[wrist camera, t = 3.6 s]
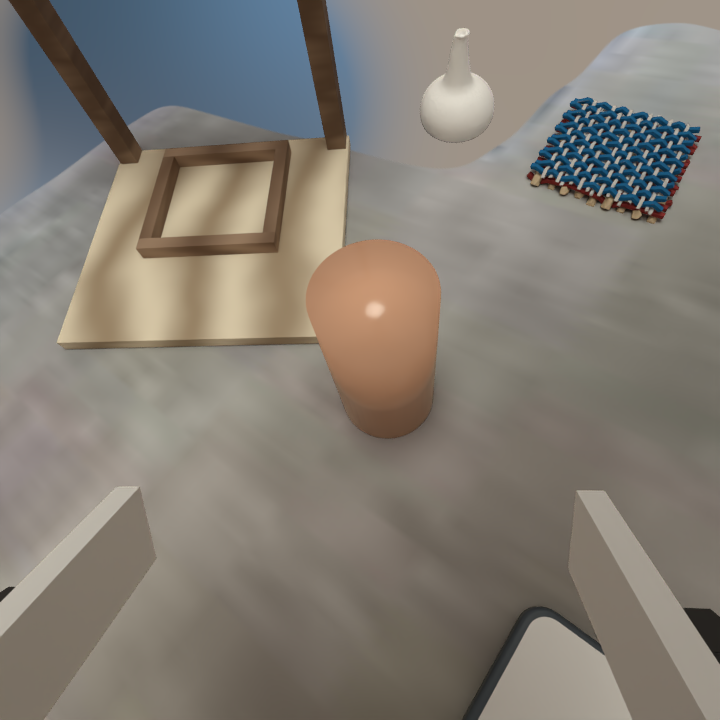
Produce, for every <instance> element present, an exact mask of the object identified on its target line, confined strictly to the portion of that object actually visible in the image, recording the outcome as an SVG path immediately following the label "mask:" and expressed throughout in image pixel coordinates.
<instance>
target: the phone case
mask: <svg viewBox="0 0 720 720" xmlns="http://www.w3.org/2000/svg"><path fill="white" fill-rule="evenodd" d="M462 720H632V718H631V715H630V713H629V711H628V708H627V706H626V704H625V701H624V699H623V697H622V694H621V692H620V690H619V687H618V685H617V682H616V680H615V678H614V675H613V673H612V671H611V668H610V666H609V664H608V661H607V659H606V657H605V654H604V652H603V650H602V647H601V645H600V644H599V643H598V642H597V641H595V640H594V639H592V638H591V637H590V636H588V635H587V634H586V633H584V632H583V631H581V630H580V629H579V628H577V627H576V626H575V625H573V624H572V623H570V622H569V621H568V620H566V619H565V618H564V617H562V616H561V615H559V614H558V613H557V612H555V611H553V610H552V609H549V608H546V607H532V608H529V609H527V610H525V611H524V612H523V613H522V614H521V615H520V616H519V618H518V620H517V621H516V623H515V625H514V627H513V629H512V630H511V632H510V634H509V636H508V638H507V640H506V641H505V643H504V645H503V647H502V649H501V650H500V652H499V654H498V656H497V658H496V659H495V661H494V663H493V665H492V667H491V668H490V670H489V672H488V674H487V676H486V678H485V679H484V681H483V683H482V685H481V687H480V688H479V690H478V692H477V694H476V696H475V697H474V699H473V701H472V703H471V705H470V706H469V708H468V710H467V712H466V714H465V715H464V717H463V719H462Z"/></svg>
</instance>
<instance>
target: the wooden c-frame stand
mask: <svg viewBox="0 0 720 720" xmlns="http://www.w3.org/2000/svg"><path fill="white" fill-rule="evenodd" d="M9 1H10V3H11V4H12V6H13V7H14V9H15V10H16V11H17V13H18V14H19V16H20V17H21V19H22V20H23V21H24V23H25V25H26V26H27V27H28V29H29V30H30V32H31V33H32V35H33V36H34V38H35V39H36V41H37V42H38V44H39V45H40V46H41V48H42V49H43V51H44V52H45V54H46V55H47V56H48V58H49V59H50V61H51V62H52V64H53V65H54V67H55V68H56V70H57V71H58V73H59V74H60V75H61V77H62V78H63V80H64V81H65V83H66V84H67V86H68V87H69V89H70V90H71V91H72V93H73V94H74V96H75V97H76V99H77V100H78V102H79V103H80V105H81V106H82V107H83V109H84V110H85V112H86V113H87V115H88V116H89V117H90V119H91V120H92V122H93V123H94V125H95V126H96V128H97V129H98V130H99V132H100V134H101V135H102V136H103V138H104V139H105V141H106V142H107V144H108V145H109V147H110V148H111V150H112V151H113V153H114V154H115V155H116V157H117V158H118V160H119V161H120V164H119V167H118V170H117V173H116V176H115V179H114V181H113V184H112V187H111V190H110V193H109V196H108V198H107V201H106V204H105V207H104V210H103V213H102V215H101V218H100V221H99V224H98V227H97V230H96V233H95V235H94V238H93V241H92V244H91V247H90V250H89V252H88V255H87V258H86V261H85V264H84V267H83V270H82V272H81V275H80V278H79V281H78V284H77V287H76V289H75V292H74V295H73V298H72V301H71V304H70V306H69V309H68V312H67V315H66V318H65V321H64V324H63V326H62V329H61V332H60V335H59V338H58V341H57V343H58V344H59V345H60V346H62V347H63V348H65V349H91V348H134V347H177V346H221V345H264V344H307V343H319V342H318V339H317V337H316V334H315V332H314V329H313V327H312V324H311V322H310V319H309V316H308V313H307V309H306V291H307V287H308V284H309V281H310V279H311V277H312V275H313V273H314V272H315V270H316V269H317V267H318V266H319V265H320V264H321V263H322V262H323V261H324V260H325V259H326V258H327V257H328V256H330V255H331V254H332V253H334V252H335V251H337V250H339V249H341V248H343V247H345V230H346V213H347V196H348V179H349V161H350V139H349V136H347V135H346V128H345V122H344V115H343V109H342V102H341V96H340V89H339V83H338V77H337V70H336V64H335V57H334V51H333V45H332V38H331V32H330V25H329V20H328V12H327V6H326V0H297V2H298V7H299V12H300V17H301V22H302V26H303V32H304V37H305V41H306V46H307V51H308V56H309V61H310V66H311V71H312V75H313V81H314V86H315V90H316V96H317V100H318V105H319V110H320V115H321V119H322V125H323V130H324V135H325V138H311V139H297V140H282V141H268V142H254V143H240V144H226V145H212V146H198V147H185V148H171V149H158V150H144V151H142V149H141V148H140V146H139V145H138V143H137V141H136V140H135V138H134V137H133V135H132V133H131V132H130V130H129V129H128V127H127V125H126V124H125V122H124V120H123V119H122V117H121V116H120V114H119V112H118V111H117V109H116V108H115V106H114V104H113V103H112V101H111V100H110V98H109V97H108V95H107V93H106V91H105V90H104V88H103V87H102V85H101V83H100V82H99V80H98V79H97V77H96V75H95V74H94V72H93V70H92V69H91V67H90V66H89V64H88V62H87V61H86V59H85V58H84V56H83V54H82V53H81V51H80V50H79V48H78V46H77V45H76V43H75V42H74V40H73V38H72V37H71V35H70V33H69V32H68V30H67V29H66V27H65V25H64V24H63V22H62V21H61V19H60V17H59V16H58V14H57V13H56V11H55V9H54V8H53V6H52V5H51V3H50V1H49V0H9Z"/></svg>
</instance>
